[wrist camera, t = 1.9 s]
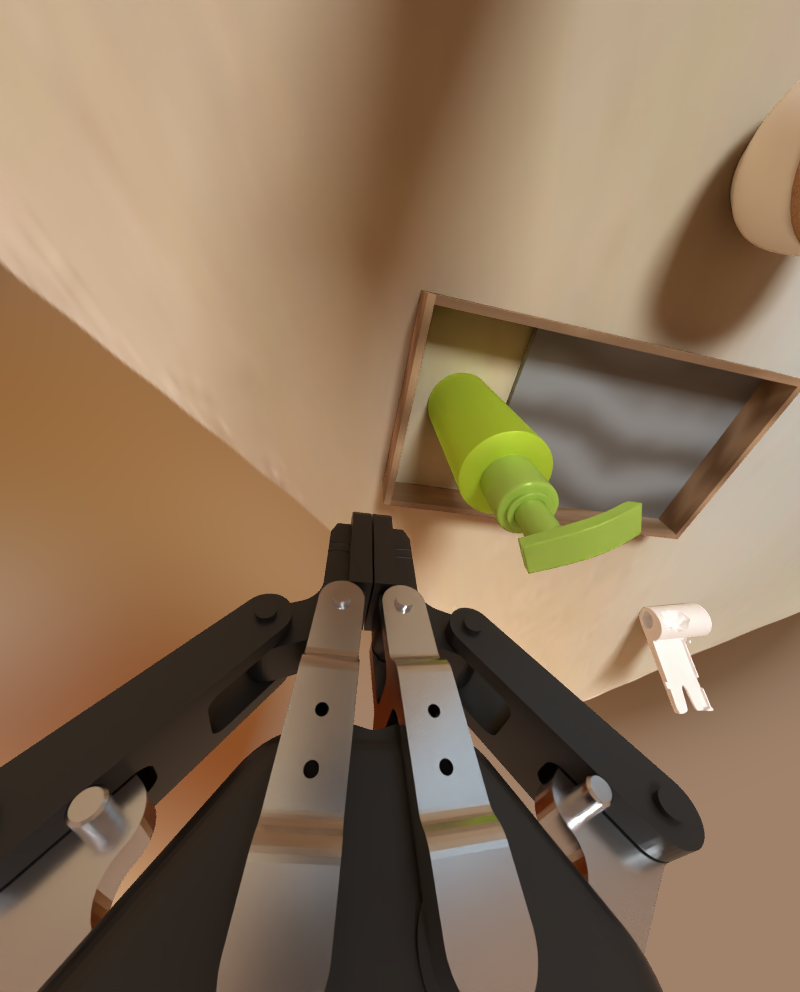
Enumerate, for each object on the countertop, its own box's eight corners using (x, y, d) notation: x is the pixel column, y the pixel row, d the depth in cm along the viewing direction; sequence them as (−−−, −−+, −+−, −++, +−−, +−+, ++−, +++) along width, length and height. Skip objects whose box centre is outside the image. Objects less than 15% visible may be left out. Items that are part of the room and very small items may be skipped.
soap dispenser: (506, 417, 33) (647, 569, 16) (438, 443, 34) (505, 611, 17) (493, 357, 30) (653, 470, 13) (419, 387, 31) (478, 528, 14)
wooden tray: (421, 290, 26) (428, 292, 23) (769, 370, 32) (808, 380, 29) (382, 485, 36) (383, 504, 33) (655, 520, 42) (677, 539, 39)
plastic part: (693, 597, 51) (768, 673, 42) (666, 637, 57) (728, 712, 47) (645, 601, 51) (710, 678, 41) (623, 641, 56) (676, 717, 47)
